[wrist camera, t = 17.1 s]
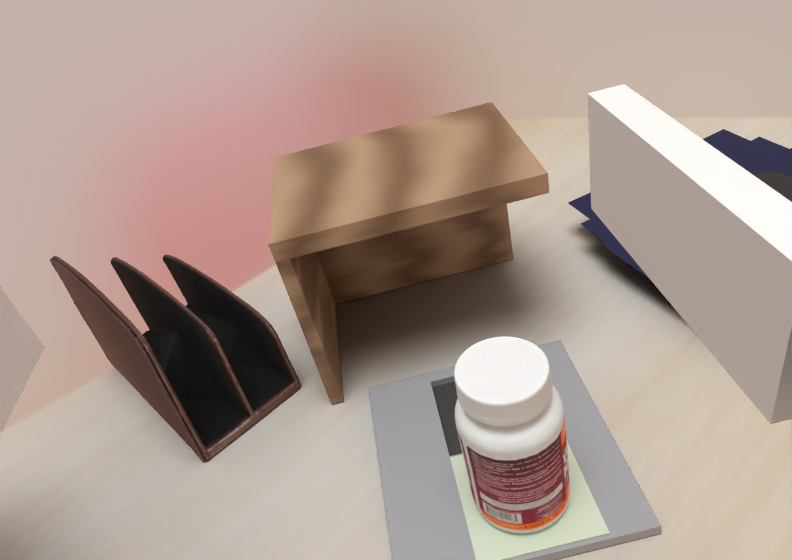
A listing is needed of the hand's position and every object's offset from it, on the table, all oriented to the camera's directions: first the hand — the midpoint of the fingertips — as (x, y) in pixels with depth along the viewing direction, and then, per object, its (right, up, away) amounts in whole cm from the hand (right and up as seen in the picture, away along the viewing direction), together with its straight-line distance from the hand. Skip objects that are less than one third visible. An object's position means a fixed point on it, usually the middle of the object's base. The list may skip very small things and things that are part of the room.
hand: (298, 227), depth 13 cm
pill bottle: (+10, -15, +27) cm, 32 cm away
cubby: (+5, -5, +43) cm, 44 cm away
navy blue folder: (+35, +1, +41) cm, 54 cm away
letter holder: (-16, -10, +44) cm, 48 cm away
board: (+9, -13, +31) cm, 34 cm away
